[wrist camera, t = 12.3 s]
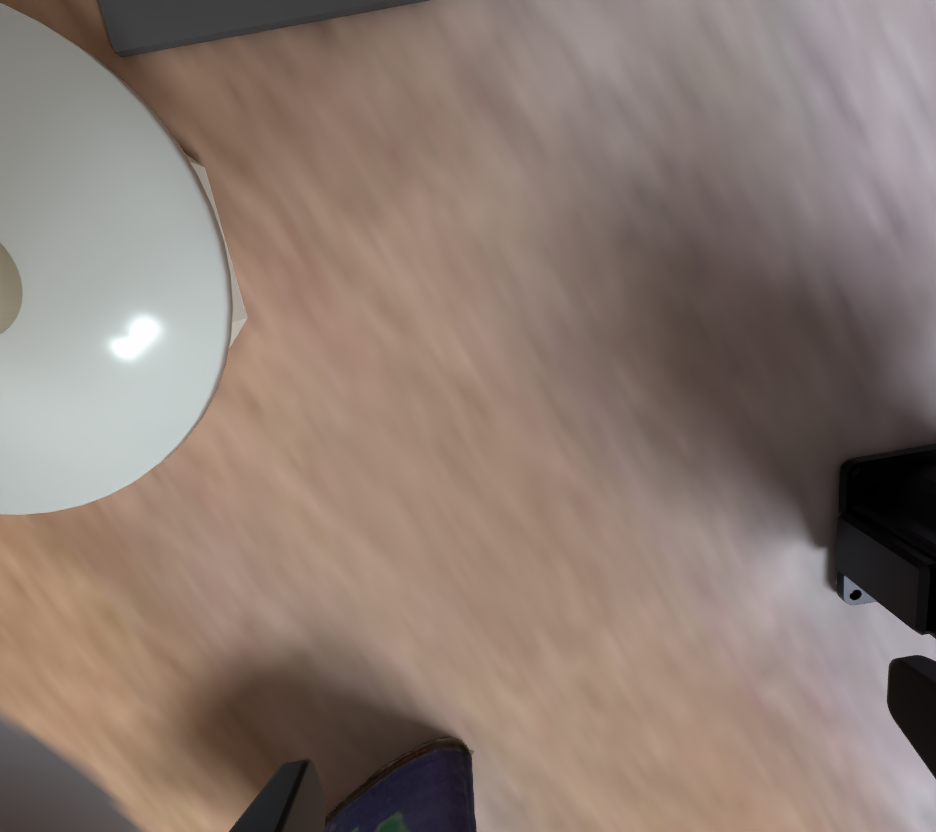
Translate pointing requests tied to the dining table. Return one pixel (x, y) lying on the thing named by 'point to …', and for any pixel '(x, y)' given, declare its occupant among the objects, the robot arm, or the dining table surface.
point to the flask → (414, 794)
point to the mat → (214, 19)
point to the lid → (97, 279)
